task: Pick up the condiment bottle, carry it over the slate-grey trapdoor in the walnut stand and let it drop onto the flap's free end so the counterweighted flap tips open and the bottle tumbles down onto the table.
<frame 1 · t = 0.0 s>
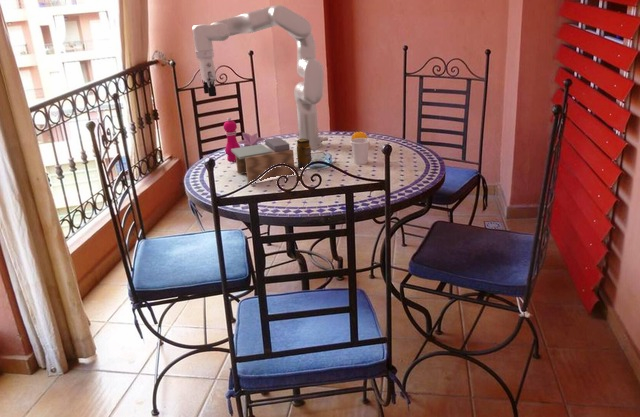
hand: (210, 94, 241), 31 cm above the table, tool pointing down, fingers open, 9 cm apart
condiment: (305, 167, 237), on the table
lily: (252, 150, 269), on the table
trapdoor: (260, 149, 227), point 11 cm above the table, hinge at 0.0°
pepper mill: (234, 160, 255), on the table
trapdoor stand: (270, 173, 232), on the table
dixie cup: (360, 163, 238), on the table
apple: (359, 147, 262), on the table
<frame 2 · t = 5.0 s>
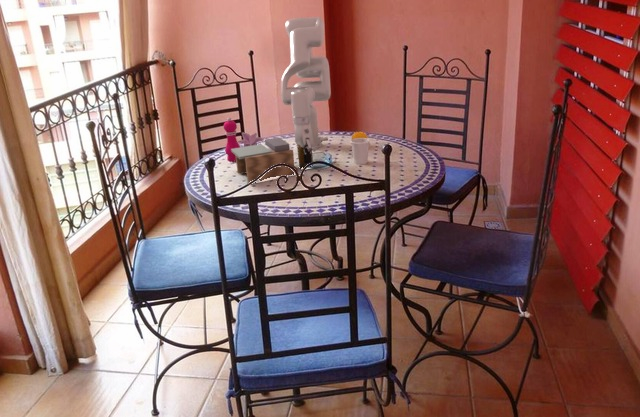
hand: (304, 160, 236), 3 cm above the table, tool pointing down, fingers closed on condiment, 6 cm apart
condiment: (306, 167, 237), on the table, touching gripper
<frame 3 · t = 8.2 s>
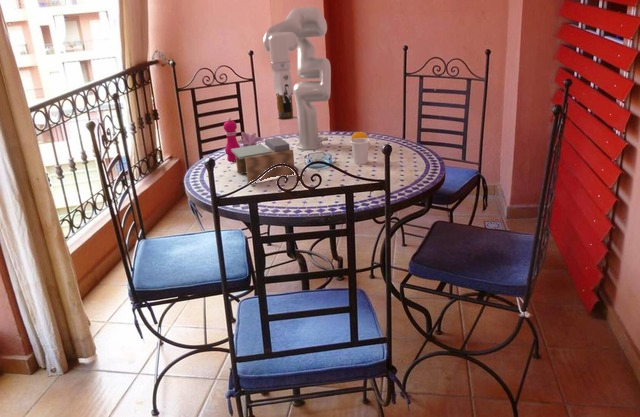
hand: (284, 110, 225), 26 cm above the table, tool pointing down, fingers closed on condiment, 6 cm apart
condiment: (286, 118, 226), point 23 cm above the table, touching gripper
when the fingers open (17 cm above the table, at t = 11.2 s): condiment drops 8 cm, resting on trapdoor.
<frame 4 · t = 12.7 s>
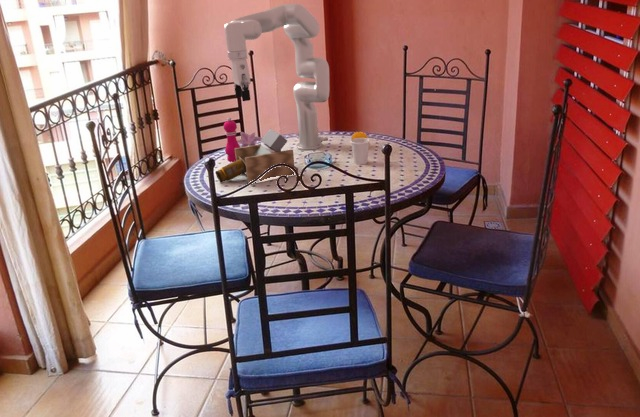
hand: (243, 98, 221), 32 cm above the table, tool pointing down, fingers open, 9 cm apart
condiment: (245, 165, 225), point 6 cm above the table, touching trapdoor
trapdoor: (263, 154, 228), point 9 cm above the table, hinge at -44.3°, touching condiment
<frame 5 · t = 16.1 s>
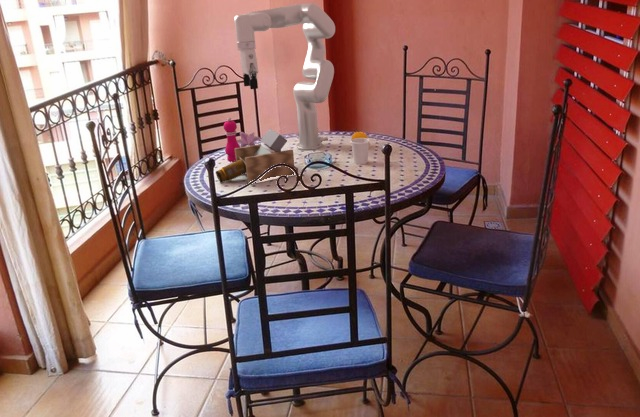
hand: (251, 87, 233), 34 cm above the table, tool pointing down, fingers open, 9 cm apart
trapdoor: (263, 154, 228), point 9 cm above the table, hinge at -45.3°, touching condiment
at the end: condiment point 5.4 cm above the table; the gripper is holding nothing; condiment moved 27.0 cm from its start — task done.
